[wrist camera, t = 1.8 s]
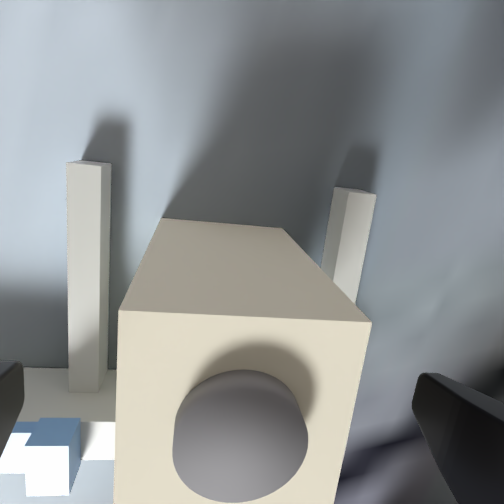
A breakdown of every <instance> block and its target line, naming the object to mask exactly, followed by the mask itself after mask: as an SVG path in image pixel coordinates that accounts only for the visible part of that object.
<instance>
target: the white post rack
mask: <svg viewBox="0 0 504 504" xmlns="http://www.w3.org/2000/svg"><path fill="white" fill-rule="evenodd" d="M111 164H112V163H103V162H94V161H84V160H79V161H73V162H67V163H66V177H67V270H68V363H69V368H30V367H23V369H24V391H25V398H24V404H23V407H22V410H21V412H20V414H19V417H18V419H17V421H16V424H15V426H14V428H13V430H12V433H11V435H10V437H9V440H8V442H7V444H6V447H5V449H4V451H3V453H2V456H1V458H0V474H3V473H25V475H26V496H57V495H69V494H70V492H71V489H72V486H73V483H74V480H75V478H76V475H77V472H78V469H79V467H80V464H81V460H114V458H115V420H116V381H117V370H112V369H108V321H109V269H110V216H111ZM376 196H377V195H376V194H372V193H369V192H366V191H363V190H359V189H350V188H341V187H334V191H333V197H332V203H331V209H330V215H329V221H328V227H327V232H326V238H325V244H324V250H323V256H322V262H321V269H322V270H323V271H324V273H325V274H326V275H327V276H328V277H329V278H330V279H331V280H332V281H333V282H334V283H335V284H336V285H337V286H338V287H339V288H340V289H341V290H342V291H343V292H344V293H345V295H346V296H347V297H348V298H349V299H350V300H351V301H352V302H353V303H354V304H355V302H356V297H357V292H358V287H359V282H360V277H361V272H362V267H363V261H364V256H365V251H366V246H367V241H368V236H369V231H370V226H371V221H372V216H373V211H374V206H375V201H376ZM350 425H351V424H350ZM349 430H350V429H349ZM348 435H349V433H348ZM347 439H348V438H347ZM346 444H347V443H346ZM345 449H346V447H345ZM344 453H345V452H344Z"/></svg>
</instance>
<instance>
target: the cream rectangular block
mask: <svg viewBox="0 0 504 504" xmlns="http://www.w3.org/2000/svg"><path fill="white" fill-rule="evenodd" d="M371 325H372V322H371V321H370V320H369V319H368V318H367V317H366V315H365V314H364V313H363V312H362V311H361V310H360V309H359V308H358V307H357V306H356V305H355V304H354V303H353V302H352V301H351V300H350V299H349V298H348V297H347V296H346V295H345V293H344V292H343V291H342V290H341V289H340V288H339V287H338V286H337V285H336V284H335V283H334V282H333V281H332V280H331V279H330V278H329V277H328V276H327V275H326V274H325V273H324V271H323V270H322V269H321V268H320V267H319V266H318V265H317V264H316V263H315V262H314V261H313V260H312V259H311V258H310V257H309V256H308V255H307V254H306V253H305V252H304V251H303V249H302V248H301V247H300V246H299V245H298V244H297V243H296V242H295V241H294V240H293V239H292V238H291V237H290V236H289V235H288V234H287V233H286V232H285V231H284V230H283V229H282V228H274V227H262V226H251V225H239V224H227V223H216V222H204V221H192V220H180V219H169V218H161V219H160V222H159V224H158V226H157V228H156V230H155V232H154V235H153V237H152V239H151V241H150V243H149V245H148V248H147V250H146V252H145V254H144V256H143V258H142V260H141V263H140V265H139V267H138V269H137V271H136V273H135V276H134V278H133V280H132V282H131V284H130V286H129V288H128V291H127V293H126V295H125V297H124V299H123V301H122V304H121V306H120V308H119V310H118V343H117V381H116V420H115V458H114V497H113V504H334V499H335V494H336V489H337V485H338V480H339V475H340V471H341V466H342V461H343V457H344V452H345V447H346V443H347V438H348V433H349V429H350V424H351V419H352V414H353V410H354V405H355V400H356V396H357V391H358V386H359V382H360V377H361V372H362V368H363V363H364V358H365V354H366V349H367V344H368V339H369V335H370V330H371Z"/></svg>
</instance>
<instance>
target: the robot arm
mask: <svg viewBox="0 0 504 504" xmlns="http://www.w3.org/2000/svg"><path fill="white" fill-rule="evenodd" d="M24 398H25V391H24V369H23V365H22V363H21V362H20V361H0V458H1V456H2V453H3V451H4V449H5V447H6V444H7V442H8V440H9V437H10V435H11V433H12V430H13V428H14V426H15V424H16V421H17V419H18V417H19V414H20V412H21V410H22V407H23V404H24ZM412 409H413V413H414V415H415V417H416V420H417V422H418V424H419V426H420V428H421V431H422V433H423V435H424V437H425V439H426V441H427V444H428V446H429V448H430V450H431V452H432V455H433V457H434V459H435V461H436V463H437V465H438V467H439V469H440V471H441V473H442V475H443V477H444V479H445V481H446V483H447V484H448V486H449V488H450V490H451V491H452V493H453V495H454V497H455V498H456V500H457V502H458V504H504V403H502V402H500V401H498V400H495V399H493V398H491V397H489V396H487V395H485V394H482V393H480V392H478V391H476V390H474V389H472V388H469V387H467V386H465V385H463V384H461V383H458V382H456V381H454V380H452V379H450V378H448V377H445V376H443V375H441V374H439V373H422V374H420V376H419V377H418V380H417V384H416V388H415V392H414V396H413V400H412Z"/></svg>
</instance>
